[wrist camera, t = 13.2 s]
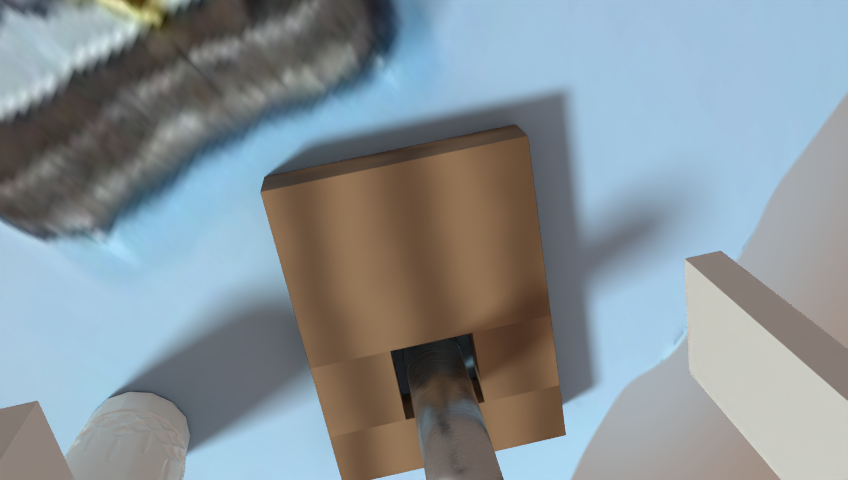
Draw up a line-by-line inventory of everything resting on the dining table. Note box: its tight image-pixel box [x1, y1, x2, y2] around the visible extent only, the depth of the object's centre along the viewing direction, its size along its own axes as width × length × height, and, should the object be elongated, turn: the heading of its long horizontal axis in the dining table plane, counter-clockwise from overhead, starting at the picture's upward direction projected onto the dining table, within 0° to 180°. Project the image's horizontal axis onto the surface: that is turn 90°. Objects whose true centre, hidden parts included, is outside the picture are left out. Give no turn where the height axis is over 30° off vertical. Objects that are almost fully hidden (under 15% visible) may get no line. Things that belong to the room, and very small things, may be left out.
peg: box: [404, 337, 504, 480], centre depth 45 cm, size 4×4×14 cm
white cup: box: [64, 392, 190, 480], centre depth 46 cm, size 8×8×10 cm
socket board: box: [261, 125, 566, 480], centre depth 48 cm, size 16×22×3 cm
